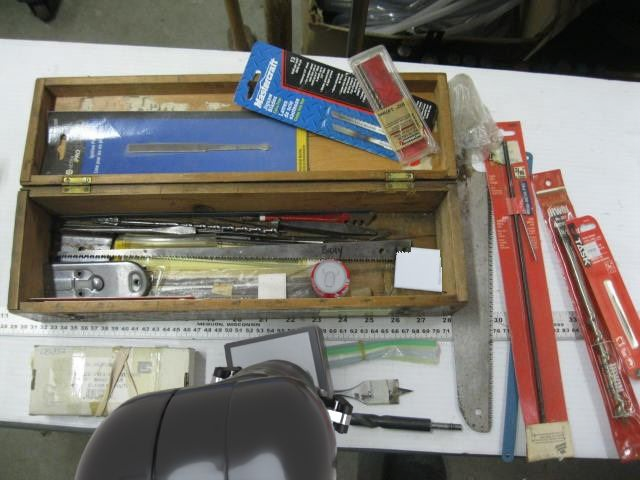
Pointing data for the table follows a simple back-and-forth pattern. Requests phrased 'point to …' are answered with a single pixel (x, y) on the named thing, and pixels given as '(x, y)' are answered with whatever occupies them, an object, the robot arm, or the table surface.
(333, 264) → the soda can
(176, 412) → the robot arm
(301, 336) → the scale
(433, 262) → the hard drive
